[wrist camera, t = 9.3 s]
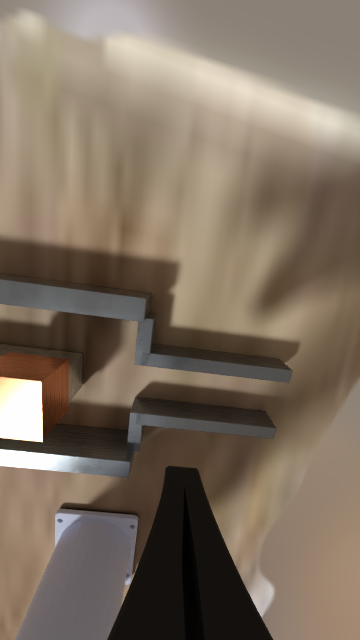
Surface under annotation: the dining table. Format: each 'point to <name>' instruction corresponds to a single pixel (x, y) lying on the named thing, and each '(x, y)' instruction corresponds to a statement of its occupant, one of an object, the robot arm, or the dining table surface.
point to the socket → (117, 445)
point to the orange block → (36, 389)
